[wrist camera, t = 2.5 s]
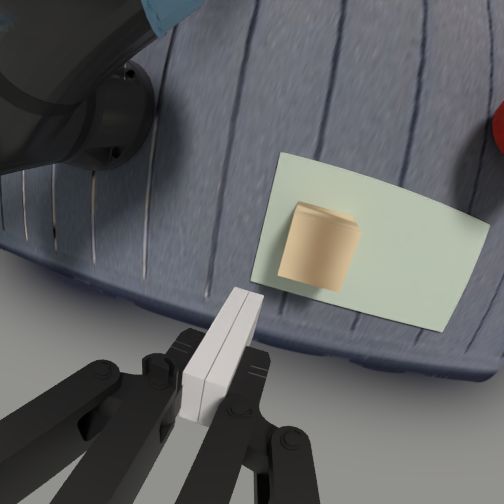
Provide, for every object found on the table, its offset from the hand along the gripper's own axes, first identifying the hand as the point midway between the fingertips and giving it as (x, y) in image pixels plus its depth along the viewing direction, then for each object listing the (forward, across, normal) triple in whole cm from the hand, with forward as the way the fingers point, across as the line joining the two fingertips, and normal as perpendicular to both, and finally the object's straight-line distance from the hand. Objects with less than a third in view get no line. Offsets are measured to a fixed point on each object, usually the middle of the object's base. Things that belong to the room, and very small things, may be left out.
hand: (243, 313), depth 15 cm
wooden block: (+18, +4, 0) cm, 18 cm away
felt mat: (+18, +11, 0) cm, 21 cm away
